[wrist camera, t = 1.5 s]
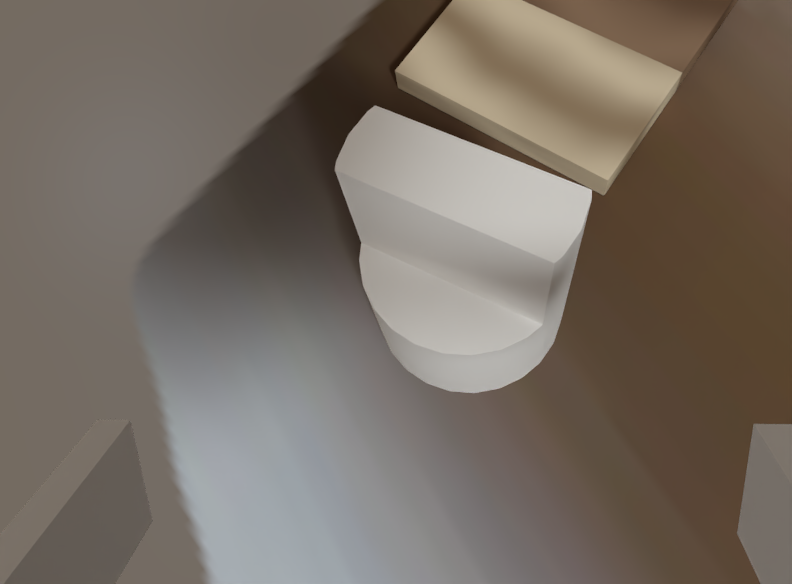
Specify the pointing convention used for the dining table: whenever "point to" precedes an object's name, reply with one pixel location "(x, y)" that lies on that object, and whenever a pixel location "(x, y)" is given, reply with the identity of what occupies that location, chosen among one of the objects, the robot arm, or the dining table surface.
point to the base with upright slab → (459, 250)
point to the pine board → (561, 73)
